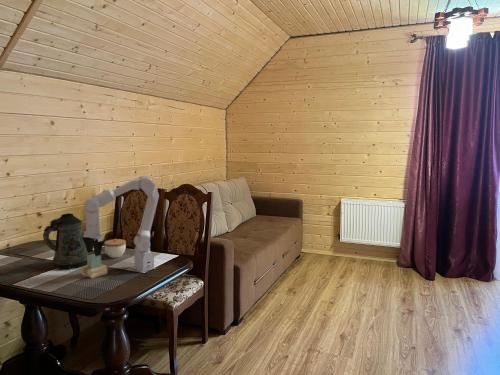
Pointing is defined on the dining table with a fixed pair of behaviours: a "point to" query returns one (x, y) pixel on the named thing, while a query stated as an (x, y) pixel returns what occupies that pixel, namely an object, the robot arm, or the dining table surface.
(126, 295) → the dining table surface
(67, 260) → the beer stein
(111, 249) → the lidded jar
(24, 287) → the dining table surface
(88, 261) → the teal block
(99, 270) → the birch base block
